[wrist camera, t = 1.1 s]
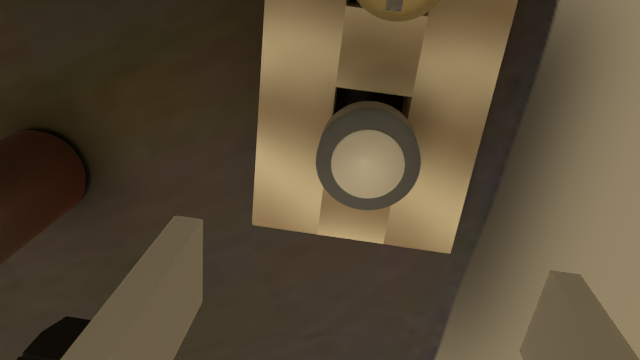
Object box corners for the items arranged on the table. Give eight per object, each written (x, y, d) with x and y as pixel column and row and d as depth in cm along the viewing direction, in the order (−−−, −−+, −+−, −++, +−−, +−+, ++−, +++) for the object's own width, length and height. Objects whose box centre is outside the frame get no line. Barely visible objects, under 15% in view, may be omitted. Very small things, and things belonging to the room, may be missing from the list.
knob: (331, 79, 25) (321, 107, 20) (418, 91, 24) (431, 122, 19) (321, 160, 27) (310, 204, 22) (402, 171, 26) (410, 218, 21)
